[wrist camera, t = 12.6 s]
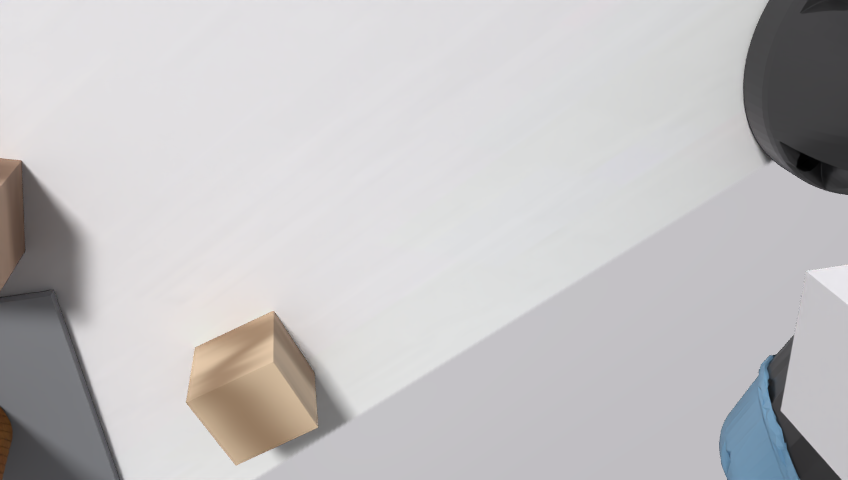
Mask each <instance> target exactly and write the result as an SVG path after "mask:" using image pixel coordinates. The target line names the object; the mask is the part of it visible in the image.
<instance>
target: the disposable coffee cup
mask: <svg viewBox="0 0 848 480" xmlns="http://www.w3.org/2000/svg"><path fill="white" fill-rule="evenodd" d="M12 437H13V430H12V426H11V422H10V420H9V419H8V417H7V415H6V413H5V412H4V411H3V410H2V408H1V407H0V480H2V479H3V474H4V470H5V465H6V462H7V457H8V454H9V449H10V446H11V442H12Z"/></svg>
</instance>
